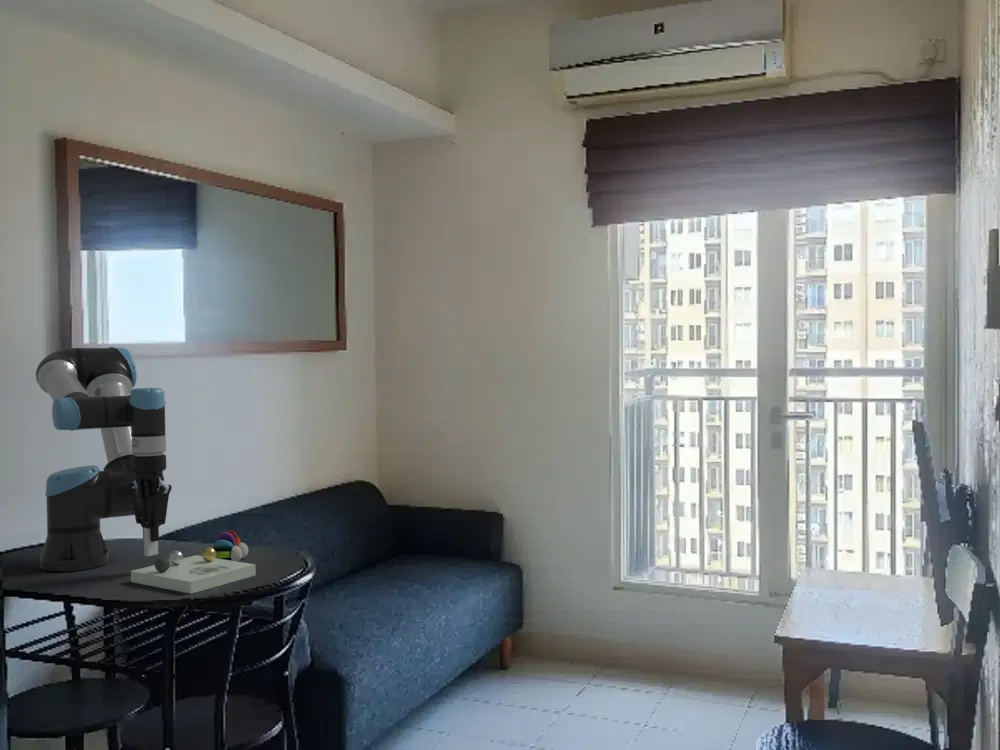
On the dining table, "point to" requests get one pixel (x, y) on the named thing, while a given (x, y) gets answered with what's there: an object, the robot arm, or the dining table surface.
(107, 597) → the dining table surface
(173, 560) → the steel ball
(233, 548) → the rainbow disc rolling toy
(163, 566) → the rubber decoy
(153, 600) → the dining table surface
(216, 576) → the pale green flat slab
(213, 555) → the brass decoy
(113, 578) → the dining table surface
